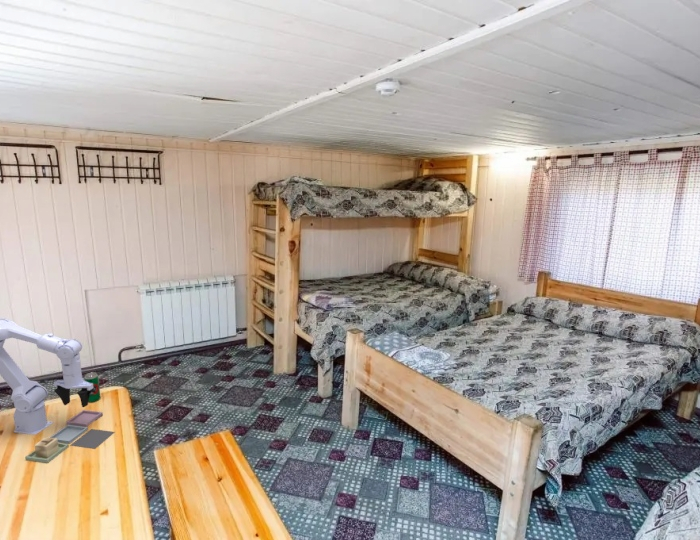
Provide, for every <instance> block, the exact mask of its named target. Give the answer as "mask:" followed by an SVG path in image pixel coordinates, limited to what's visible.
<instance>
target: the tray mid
mask: <svg viewBox="0 0 700 540" xmlns="http://www.w3.org/2000/svg"><path fill="white" fill-rule="evenodd" d="M88 427H89V426H87V427H82V426H74V425H67V424H66V425H65V426H63V428H61V429H60V430H58V431H57V432H55V433H54V434H52V435H51V436H49V438H57V439H58V443H63V444H68V445H71V444H72V443H74V442H75V441H76V440H78V439H79V438H80V437H82V436H83V435H84V434H85V433H87V432H88V431H89V428H88Z"/></svg>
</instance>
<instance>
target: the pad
mask: <svg viewBox="0 0 700 540" xmlns="http://www.w3.org/2000/svg"><path fill="white" fill-rule="evenodd" d="M115 433H116V431H109V430H103V429H96V428H95V429H94V428H91V429H88V430H87V431H86V432H85V433H83V434H82V435H81V436H80V437H78V438H77V439H76V440H74V441H73V442H72V443H70V444H69V446H70V447H78V448H84V449H93V450H96V449H97V448H99V446H101V445H102V444H103V443H104V442H105V441H107V439H109V438H111V436H113V434H115Z"/></svg>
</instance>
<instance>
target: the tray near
mask: <svg viewBox="0 0 700 540" xmlns="http://www.w3.org/2000/svg"><path fill="white" fill-rule="evenodd" d="M58 446H59V450H58V451H57V452H56V453H54V454H53V455H52V456H50V457H49V458H42V457H36V452H35V449H34V450H33V451H32V452H30V453H28V454H27V455H26V456H25V459H24V460H25V461H30V462H35V463H36V462H38V463H44V464H49V463H50V462H52V461H53V460H54V459H55V458H56V457H58V456H60V454H62V453H63V452H64V451H65V450H67V449H68V448H69V446H70V444H66V443H58Z"/></svg>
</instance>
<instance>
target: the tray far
mask: <svg viewBox="0 0 700 540" xmlns="http://www.w3.org/2000/svg"><path fill="white" fill-rule="evenodd" d="M103 414H104V413H103V411H96V410H87V409H83V410H82V411H80V412H78V413H76V415H74V416H73V417H71V418H70V419H68V420H67V421H66V426H67V425H74V426H81V427H89V425H91V424H93V422H96V421H98V420H99V419H100V418H101V417H103V416H104V415H103Z"/></svg>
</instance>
